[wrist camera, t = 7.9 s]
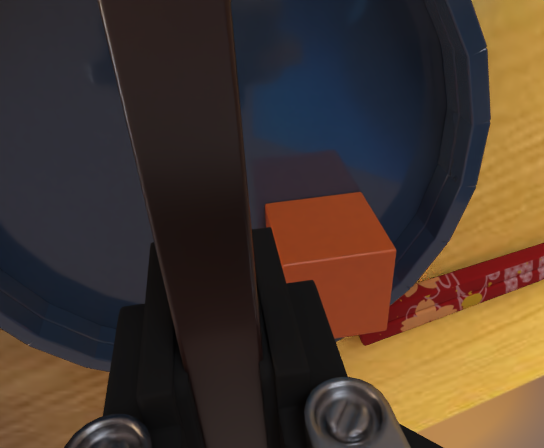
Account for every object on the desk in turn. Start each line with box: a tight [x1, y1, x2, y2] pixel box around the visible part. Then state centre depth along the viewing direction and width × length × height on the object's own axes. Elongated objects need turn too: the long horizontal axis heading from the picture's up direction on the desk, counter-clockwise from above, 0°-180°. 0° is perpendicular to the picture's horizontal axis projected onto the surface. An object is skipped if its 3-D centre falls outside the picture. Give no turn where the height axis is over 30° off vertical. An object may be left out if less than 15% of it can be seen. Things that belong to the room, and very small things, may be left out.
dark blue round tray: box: [0, 0, 491, 372], centre depth 15 cm, size 17×17×2 cm
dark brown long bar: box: [97, 0, 268, 448], centre depth 9 cm, size 20×1×1 cm, turn 4°
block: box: [265, 192, 396, 339], centre depth 16 cm, size 4×4×4 cm
